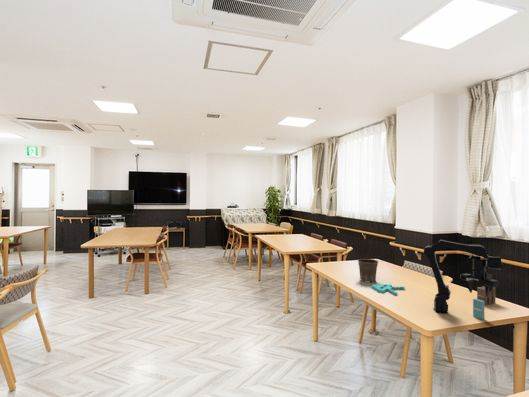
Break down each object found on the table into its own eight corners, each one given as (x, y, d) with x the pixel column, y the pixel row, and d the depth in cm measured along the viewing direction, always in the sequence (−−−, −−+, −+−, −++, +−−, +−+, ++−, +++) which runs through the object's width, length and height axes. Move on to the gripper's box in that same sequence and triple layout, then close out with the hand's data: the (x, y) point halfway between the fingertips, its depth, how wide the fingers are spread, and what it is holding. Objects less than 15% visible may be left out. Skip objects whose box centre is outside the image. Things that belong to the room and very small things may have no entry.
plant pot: (378, 283, 249) (378, 263, 249) (357, 281, 255) (357, 261, 255) (378, 278, 265) (378, 259, 265) (358, 277, 270) (358, 258, 270)
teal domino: (482, 319, 175) (482, 301, 175) (473, 316, 180) (473, 299, 180) (484, 319, 176) (484, 301, 176) (475, 316, 181) (475, 298, 181)
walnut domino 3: (493, 303, 202) (493, 288, 202) (485, 301, 207) (485, 286, 207) (495, 303, 203) (495, 287, 203) (487, 300, 207) (487, 285, 207)
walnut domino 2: (489, 304, 201) (489, 288, 201) (481, 302, 205) (481, 286, 205) (491, 304, 201) (491, 288, 201) (483, 301, 206) (483, 286, 206)
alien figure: (404, 289, 234) (377, 285, 247) (404, 286, 234) (377, 282, 247) (396, 296, 219) (368, 290, 232) (396, 293, 219) (368, 287, 231)
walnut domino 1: (485, 305, 199) (485, 289, 199) (477, 302, 204) (477, 287, 204) (487, 304, 200) (487, 289, 200) (479, 302, 204) (479, 287, 204)
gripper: (505, 269, 173) (505, 298, 173) (472, 263, 190) (472, 288, 190) (492, 271, 169) (492, 300, 169) (459, 264, 186) (459, 290, 186)
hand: (478, 294), depth 178 cm, fingers open, 9 cm apart
